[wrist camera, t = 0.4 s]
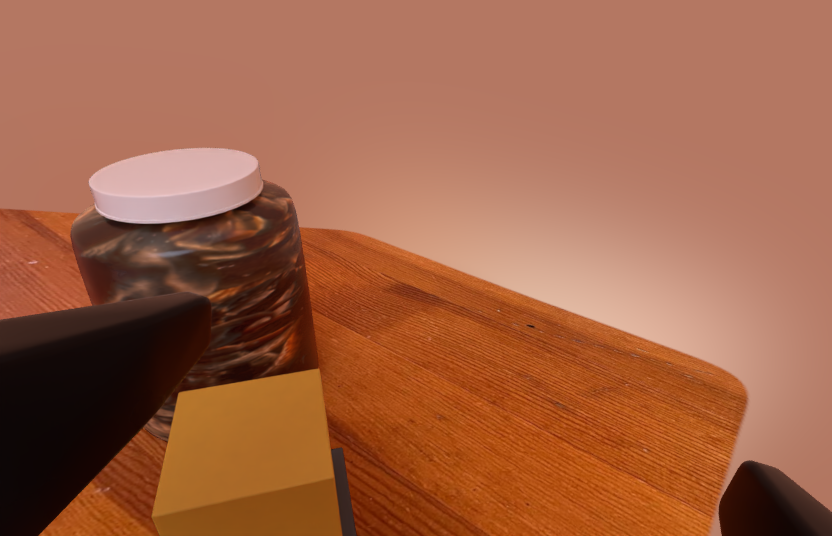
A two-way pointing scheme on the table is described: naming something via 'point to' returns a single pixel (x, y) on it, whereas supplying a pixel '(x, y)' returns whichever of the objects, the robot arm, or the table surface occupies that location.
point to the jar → (203, 259)
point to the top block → (249, 461)
